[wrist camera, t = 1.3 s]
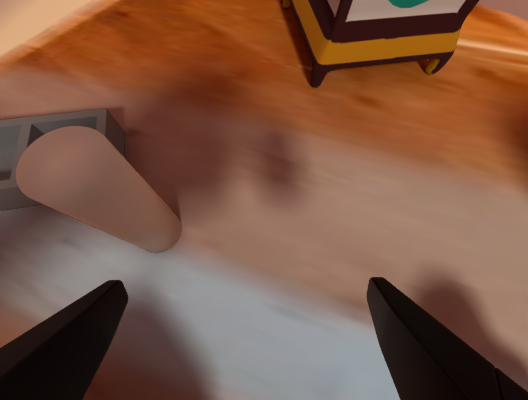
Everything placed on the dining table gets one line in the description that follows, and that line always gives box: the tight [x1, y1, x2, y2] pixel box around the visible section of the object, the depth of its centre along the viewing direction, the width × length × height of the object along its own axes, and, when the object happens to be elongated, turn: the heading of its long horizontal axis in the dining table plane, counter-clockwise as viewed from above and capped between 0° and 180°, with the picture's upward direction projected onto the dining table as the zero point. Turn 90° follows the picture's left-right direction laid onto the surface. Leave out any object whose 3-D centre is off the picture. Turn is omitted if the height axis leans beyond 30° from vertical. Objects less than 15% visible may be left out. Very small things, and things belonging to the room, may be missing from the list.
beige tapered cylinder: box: [16, 126, 182, 253], centre depth 16 cm, size 4×4×12 cm
